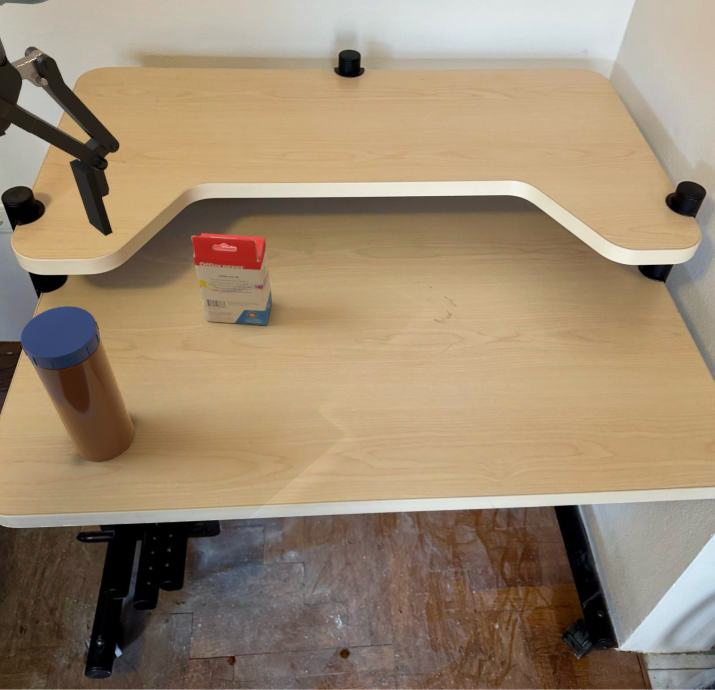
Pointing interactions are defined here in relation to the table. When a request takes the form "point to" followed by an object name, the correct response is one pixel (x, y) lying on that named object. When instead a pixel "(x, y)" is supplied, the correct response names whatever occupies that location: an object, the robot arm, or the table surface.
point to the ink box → (233, 278)
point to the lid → (60, 337)
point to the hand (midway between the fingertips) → (33, 261)
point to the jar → (90, 406)
